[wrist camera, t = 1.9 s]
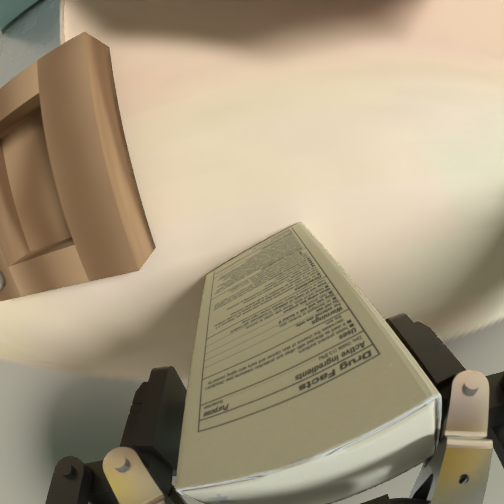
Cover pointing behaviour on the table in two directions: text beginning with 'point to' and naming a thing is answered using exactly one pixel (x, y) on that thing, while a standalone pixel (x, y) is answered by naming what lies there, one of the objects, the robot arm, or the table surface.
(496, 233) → the table surface
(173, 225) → the table surface
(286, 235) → the skincare box
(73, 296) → the table surface
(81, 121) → the socket block
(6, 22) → the teal block
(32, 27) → the rail
